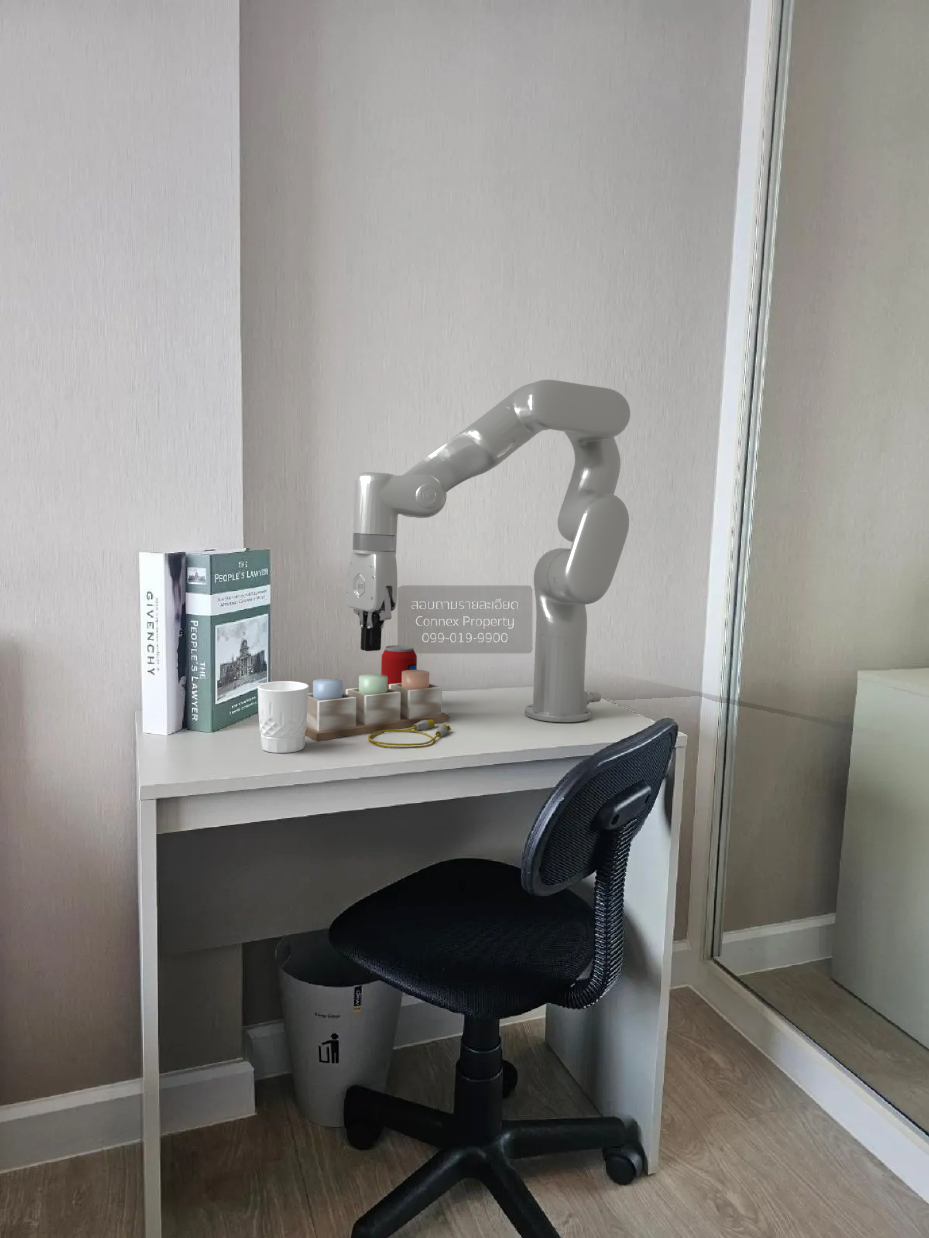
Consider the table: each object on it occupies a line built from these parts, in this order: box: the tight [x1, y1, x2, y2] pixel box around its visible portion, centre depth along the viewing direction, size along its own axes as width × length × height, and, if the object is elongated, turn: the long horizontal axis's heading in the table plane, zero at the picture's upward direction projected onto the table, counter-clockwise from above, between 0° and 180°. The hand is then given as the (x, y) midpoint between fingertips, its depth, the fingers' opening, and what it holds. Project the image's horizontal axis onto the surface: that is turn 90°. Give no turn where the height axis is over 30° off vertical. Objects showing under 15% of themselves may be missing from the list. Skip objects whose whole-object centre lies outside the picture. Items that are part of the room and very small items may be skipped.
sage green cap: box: [358, 673, 388, 695], centre depth 158 cm, size 5×5×5 cm
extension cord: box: [367, 720, 452, 749], centre depth 151 cm, size 12×16×2 cm
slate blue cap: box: [312, 678, 344, 701], centre depth 153 cm, size 5×5×5 cm
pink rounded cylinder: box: [402, 669, 430, 690], centre depth 164 cm, size 5×5×5 cm
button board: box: [305, 683, 450, 742], centre depth 158 cm, size 27×9×6 cm, turn 127°
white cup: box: [257, 680, 310, 754], centre depth 142 cm, size 8×8×10 cm
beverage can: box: [380, 644, 418, 688], centre depth 171 cm, size 7×7×12 cm
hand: (370, 649), depth 157 cm, fingers closed
